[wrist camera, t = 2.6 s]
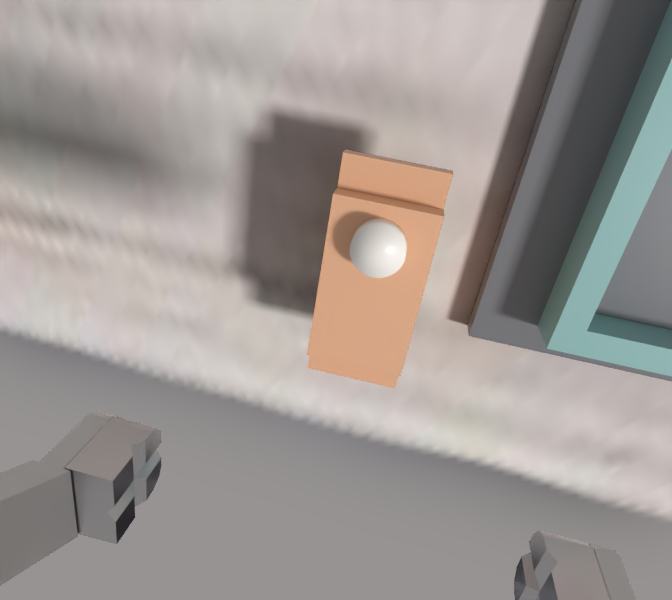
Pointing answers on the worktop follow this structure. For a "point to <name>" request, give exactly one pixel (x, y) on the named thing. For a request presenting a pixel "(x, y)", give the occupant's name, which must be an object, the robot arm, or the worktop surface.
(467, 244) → the worktop surface
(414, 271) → the block
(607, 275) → the plate
